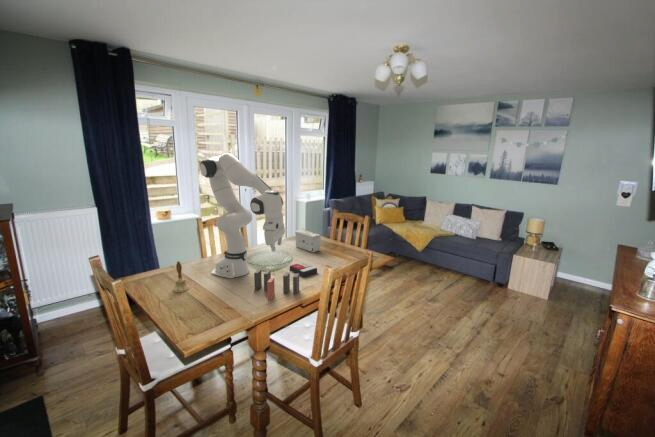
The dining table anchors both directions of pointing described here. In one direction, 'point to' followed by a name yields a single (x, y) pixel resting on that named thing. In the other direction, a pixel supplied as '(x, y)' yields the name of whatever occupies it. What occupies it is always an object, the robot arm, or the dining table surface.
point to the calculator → (303, 269)
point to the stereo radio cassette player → (308, 240)
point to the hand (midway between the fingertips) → (276, 247)
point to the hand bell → (180, 280)
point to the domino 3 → (270, 289)
